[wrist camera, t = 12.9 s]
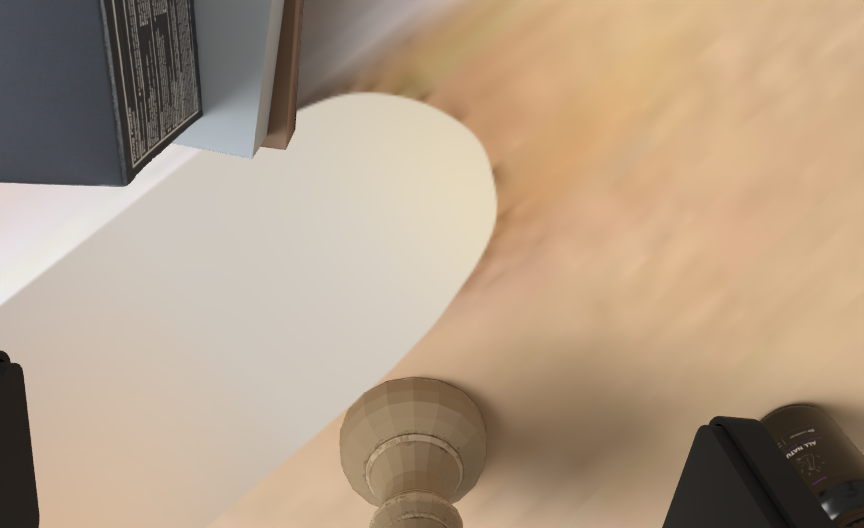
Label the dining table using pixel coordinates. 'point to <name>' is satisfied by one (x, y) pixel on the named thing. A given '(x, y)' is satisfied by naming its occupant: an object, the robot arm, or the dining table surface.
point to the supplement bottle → (822, 460)
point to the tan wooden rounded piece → (413, 452)
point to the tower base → (285, 78)
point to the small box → (94, 87)
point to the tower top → (235, 74)
